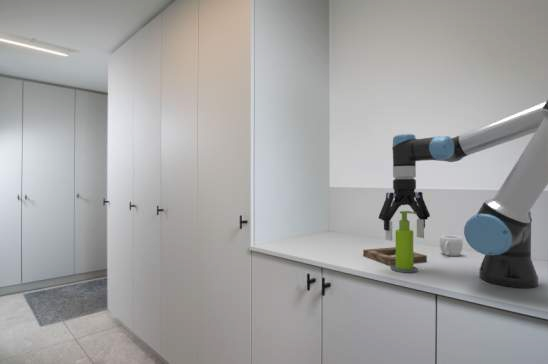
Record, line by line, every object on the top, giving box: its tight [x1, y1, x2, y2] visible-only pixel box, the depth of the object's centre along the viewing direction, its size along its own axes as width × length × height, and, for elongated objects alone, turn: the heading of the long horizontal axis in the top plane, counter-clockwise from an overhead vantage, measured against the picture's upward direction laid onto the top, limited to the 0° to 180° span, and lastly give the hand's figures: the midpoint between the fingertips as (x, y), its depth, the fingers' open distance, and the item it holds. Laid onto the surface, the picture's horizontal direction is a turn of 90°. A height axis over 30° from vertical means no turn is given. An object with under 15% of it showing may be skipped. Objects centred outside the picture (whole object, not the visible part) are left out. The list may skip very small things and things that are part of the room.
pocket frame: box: [362, 246, 428, 267], centre depth 132 cm, size 17×17×2 cm
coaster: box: [390, 265, 419, 274], centre depth 116 cm, size 9×9×1 cm
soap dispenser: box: [395, 210, 417, 270], centre depth 116 cm, size 6×7×20 cm
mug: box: [439, 234, 464, 257], centre depth 137 cm, size 12×8×8 cm
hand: (405, 238), depth 116 cm, fingers open, 13 cm apart
